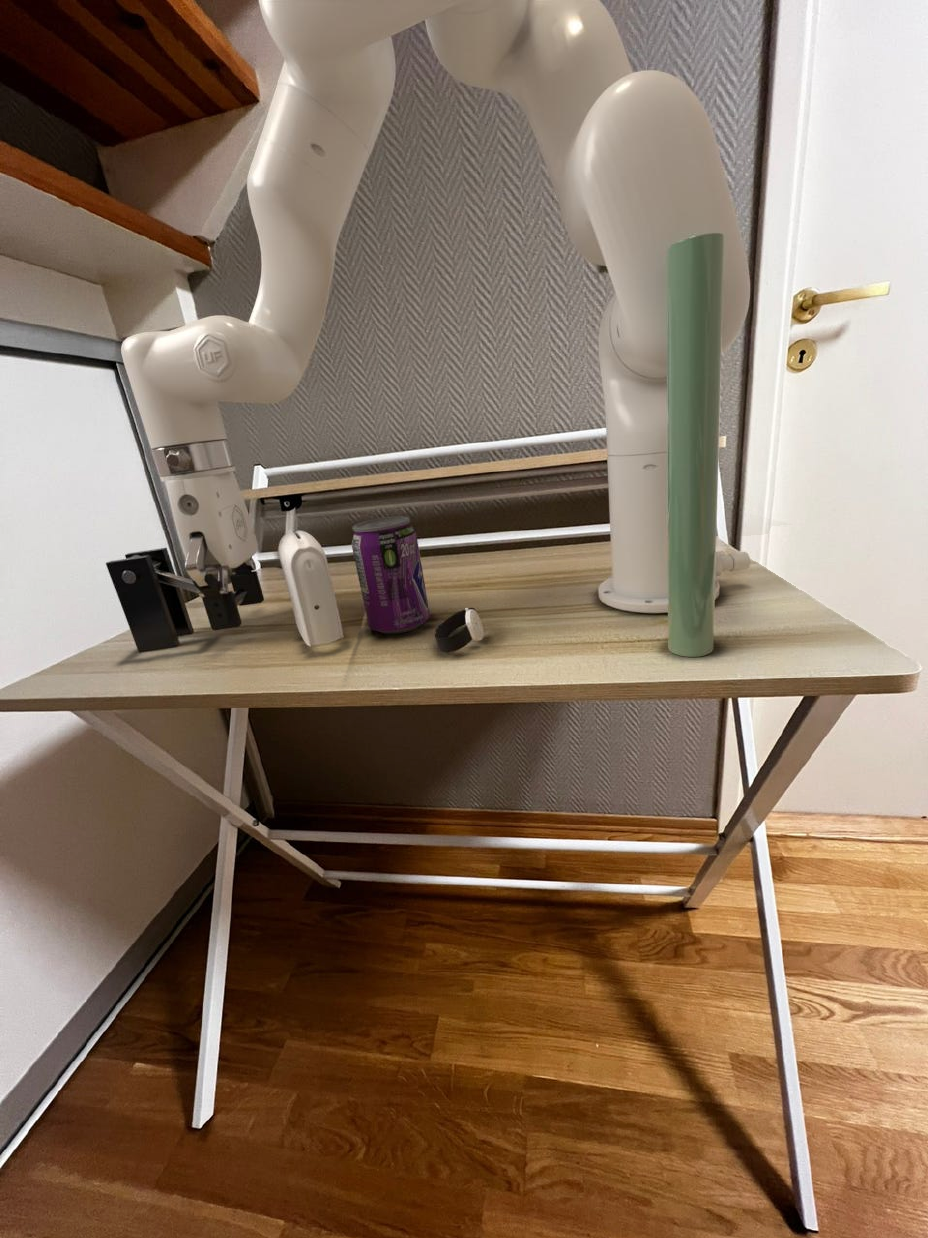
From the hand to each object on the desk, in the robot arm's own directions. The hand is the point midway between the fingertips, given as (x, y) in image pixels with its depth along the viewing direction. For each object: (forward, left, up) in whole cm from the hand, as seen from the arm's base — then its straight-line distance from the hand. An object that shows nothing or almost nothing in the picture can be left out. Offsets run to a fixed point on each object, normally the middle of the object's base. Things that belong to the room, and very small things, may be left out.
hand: (240, 614), depth 63 cm
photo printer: (-10, +4, -3) cm, 11 cm away
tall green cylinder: (-45, +20, -3) cm, 49 cm away
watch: (-25, +11, -3) cm, 28 cm away
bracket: (+9, 0, -3) cm, 10 cm away
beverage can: (-19, +4, -3) cm, 19 cm away
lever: (+5, 0, +3) cm, 6 cm away
